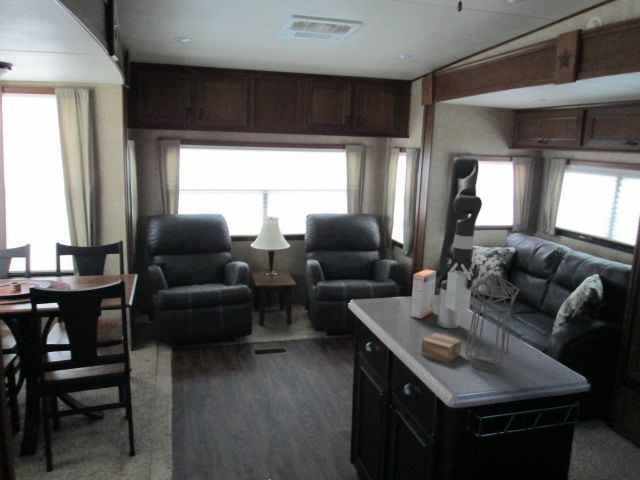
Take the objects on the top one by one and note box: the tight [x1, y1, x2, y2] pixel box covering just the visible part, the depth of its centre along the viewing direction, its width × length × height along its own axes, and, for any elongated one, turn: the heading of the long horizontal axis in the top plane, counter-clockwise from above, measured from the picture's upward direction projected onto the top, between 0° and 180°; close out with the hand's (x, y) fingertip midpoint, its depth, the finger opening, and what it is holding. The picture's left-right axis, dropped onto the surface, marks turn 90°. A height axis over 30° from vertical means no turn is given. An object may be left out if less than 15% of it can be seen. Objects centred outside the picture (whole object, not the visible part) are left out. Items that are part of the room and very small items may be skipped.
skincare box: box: [445, 271, 473, 311], centre depth 210 cm, size 8×6×15 cm
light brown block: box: [420, 332, 462, 364], centre depth 203 cm, size 11×11×6 cm
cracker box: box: [410, 268, 437, 320], centre depth 250 cm, size 14×6×21 cm, turn 144°
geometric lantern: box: [464, 273, 520, 372], centre depth 192 cm, size 16×16×35 cm
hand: (459, 286), depth 210 cm, fingers closed on skincare box, 7 cm apart
